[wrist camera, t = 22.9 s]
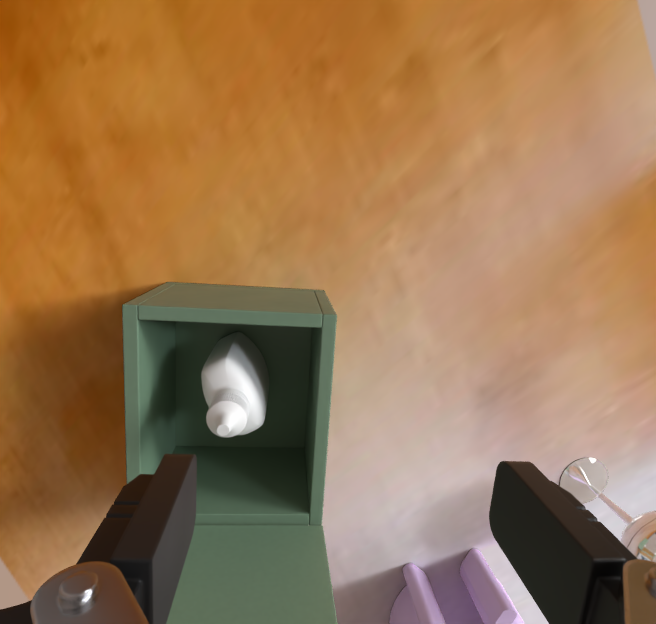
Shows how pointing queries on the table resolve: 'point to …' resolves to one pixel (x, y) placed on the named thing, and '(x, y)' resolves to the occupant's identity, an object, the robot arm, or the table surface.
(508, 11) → the table surface
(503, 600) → the clip
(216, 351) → the eye dropper bottle
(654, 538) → the wineglass
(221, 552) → the lid
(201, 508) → the chest
